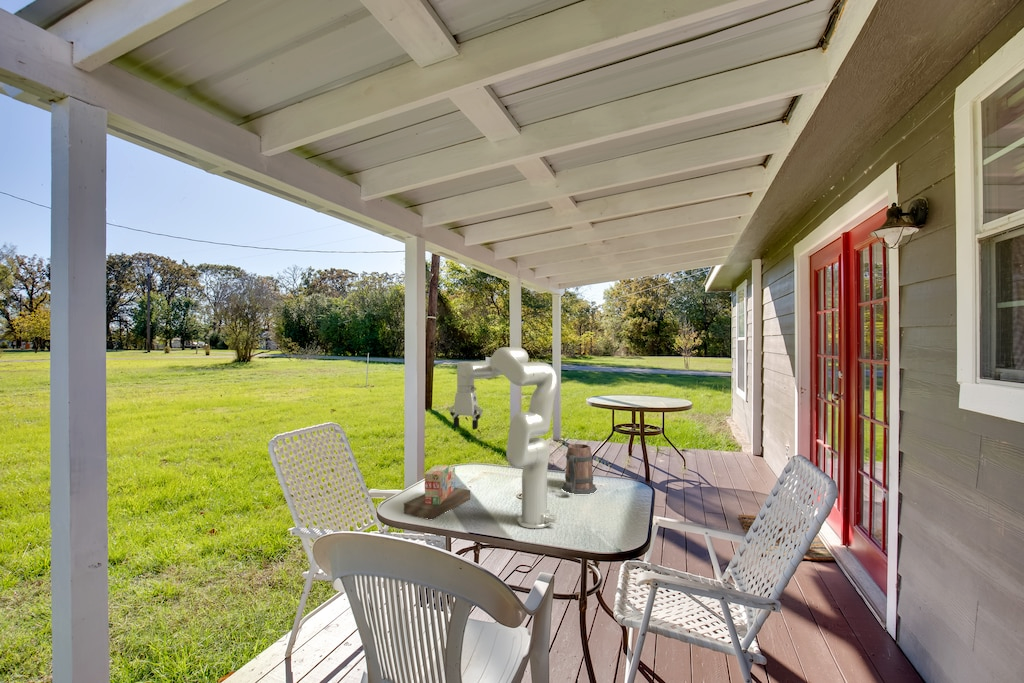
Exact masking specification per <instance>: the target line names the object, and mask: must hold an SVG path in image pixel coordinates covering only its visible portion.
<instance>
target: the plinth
mask: <svg viewBox="0 0 1024 683" xmlns="http://www.w3.org/2000/svg"><path fill="white" fill-rule="evenodd" d="M468 500H469V501H470V500H471V490H470V489H464V488H459V487H455V489H454V490H453V491H452V492H451V493H450V494H449V495H448V496H447V498H446V499H445V500H444V501H443V502H442V503H441V504H440V505H430V504H425V493H424V494H421V495H419V496H417V497H415V498H413V499H411V500H408V501H406V502H404V503H403V514H405V515H408V516H409V515H410V516H413V517H417V516H418V518H421V517H423V518H422V519H425V518H428V519H427V520H429V519H433V520H435V519H437V518H438V516H439V517H440V516H442V515H444V514H446V513H448V512H450V511H452V510H453V508H454V509H455V508H457V507H459V506H461V505H463V504H465V503H467V502H468ZM466 501H467V502H466ZM451 509H452V510H451ZM449 510H450V511H449ZM447 511H448V512H447ZM445 512H446V513H445ZM436 517H437V518H436ZM434 518H435V519H434Z"/></svg>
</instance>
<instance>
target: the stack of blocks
mask: <svg viewBox="0 0 1024 683" xmlns="http://www.w3.org/2000/svg"><path fill="white" fill-rule="evenodd" d="M455 488H456V467H455V466H449V465H446V464H445V465H441V464H435V465H434V466H432V467H431V468H430V469H429V470H427V471H426V472H425V473H424V494H425V504H430V505H440V504H441V503H442V502H443V501H444V500H445V499H446V498H447V496H448V495H449V494H450V493H451V492H452V491H453V490H454V489H455Z"/></svg>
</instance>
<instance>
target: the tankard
mask: <svg viewBox="0 0 1024 683" xmlns="http://www.w3.org/2000/svg"><path fill="white" fill-rule="evenodd" d="M567 446H568V447H567V451H566V454H565V458H566V466H565V467H566V468H565V476H564V479H565V482H564V483H563V485H562V486H561V487H562V489H563V490H564V491H566V492H569V493H574V494H590V493H594V492H595V491H596V490H597V489H598V488H597V487H596V485H595V484H594V474H593V454H592V449H591V446H590V445H588V444H584V443H575V444H574V443H573V444H571V443H570V444H568V445H567ZM594 494H595V493H594Z"/></svg>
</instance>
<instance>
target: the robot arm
mask: <svg viewBox="0 0 1024 683" xmlns="http://www.w3.org/2000/svg"><path fill="white" fill-rule="evenodd" d="M456 368H457V369H456V382H457V383H456V392H455V397H454V403H453V404H454V405H453V406H450V407H449V408H448V411H449V413H450V416H451V417H452V419H453V428H454V429H456V428H459V427H460V417H459V416H467V417H468V416H469V417H470V416H471V418H472V419H473V420H472V421H471V422H472V425H471V428H472V430H477V429H478V427H479V419H480V418H481V417H482V415H483V412H484V410H483V409H482V408H480V407H479V403H478V396H477V392H475V391H476V390H477V387H476V386H475V380H481V379H491V378H495V377H498V376H499V377H500V376H501V375H503V376H504V377H505V378H507V380H508V381H510V382H511V383H512V384H513V385H515V386H516V387H517V386H518V387H528V386H529V387H530V386H536V388H535V389H534V391H533V392H532V394H531V397H530V400H529V402H530V403H529V408H528V409H527V411H522V412H519V413H517V414H515V415H514V416H513V418H512V419H511V421H510V423H509V429H508V436H507V444H506V451H505V452H506V453H505V454H506V459H507V462H508V464H509V465H510V466H511V467H513V468H515V469H522V472H521V473H522V474H521V515H519V516H518V517H517V523H518V524H519V526H521V527H524V528H527V529H534V528H535V529H543V528H547V527H548V526H550V525H551V524H552V523H553V524H557V520H558V519H557V515H554V514H551V512H550V509H548V467H549V461H550V456H551V448H550V444H549V442H547V440H546V439H545V438H542V436H545V435H546V434H547V433H548V432H549V430H550V427H551V422H552V421H551V420H552V416H553V415H552V414H553V408H554V402H555V401H554V400H555V398H556V397H555V396H556V392H557V389H558V376H557V372H556V370H555V369H554V368H553V366H551V364H548V363H546V362H541V361H538V362H537V361H534V362H533V361H532V362H531V361H530V362H529V354H528V352H527V350H525V349H524V348H523V347H518V346H516V347H515V346H510V347H509V346H508V347H507V346H504V347H503V346H502V347H500V348H497V349H496V350H495V351H494V352H493V355H491V357H490V359H489V360H486V361H484V360H483V361H482V360H481V361H480V360H478V361H459V362H457V366H456Z"/></svg>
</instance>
